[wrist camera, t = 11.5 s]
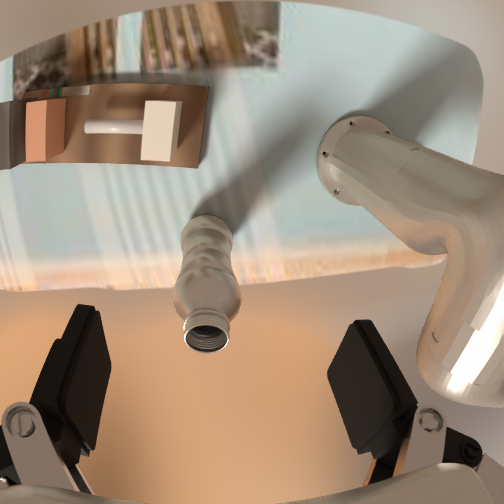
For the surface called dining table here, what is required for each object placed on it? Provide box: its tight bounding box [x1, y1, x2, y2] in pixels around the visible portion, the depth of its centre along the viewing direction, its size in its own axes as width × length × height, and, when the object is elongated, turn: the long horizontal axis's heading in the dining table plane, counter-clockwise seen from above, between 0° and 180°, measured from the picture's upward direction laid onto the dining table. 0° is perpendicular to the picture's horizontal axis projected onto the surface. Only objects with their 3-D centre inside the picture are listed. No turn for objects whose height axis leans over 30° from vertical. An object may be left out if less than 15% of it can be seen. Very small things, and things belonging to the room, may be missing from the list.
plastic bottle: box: [172, 215, 242, 354], centre depth 32 cm, size 6×7×20 cm
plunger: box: [84, 100, 183, 162], centre depth 28 cm, size 10×6×6 cm, turn 81°
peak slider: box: [26, 88, 66, 162], centre depth 26 cm, size 3×8×5 cm, turn 171°
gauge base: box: [0, 83, 209, 170], centre depth 28 cm, size 26×10×8 cm, turn 81°
